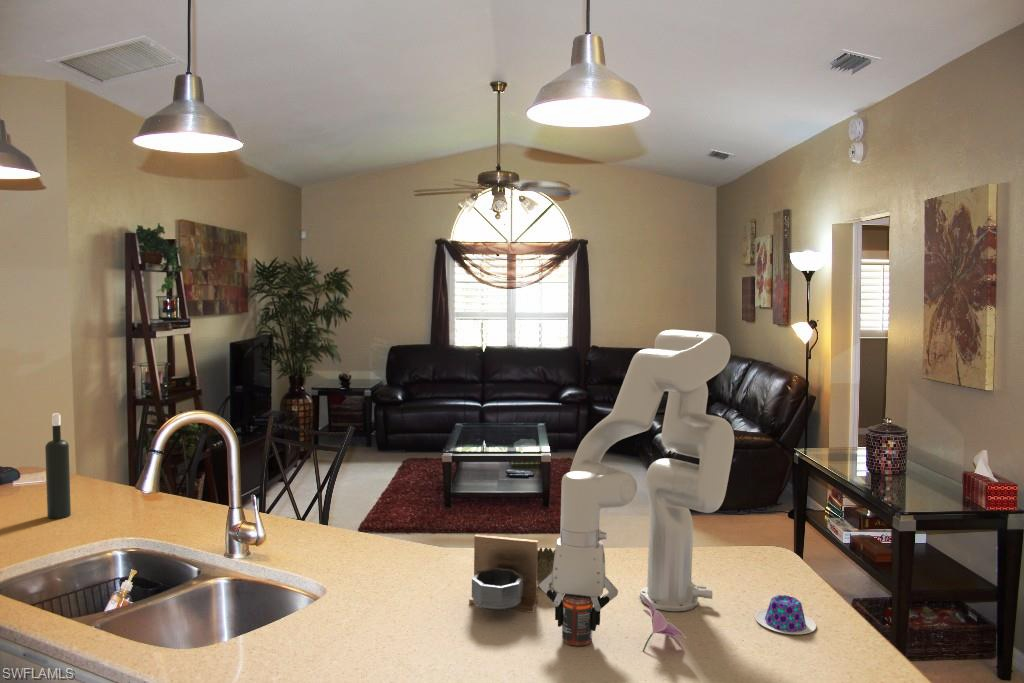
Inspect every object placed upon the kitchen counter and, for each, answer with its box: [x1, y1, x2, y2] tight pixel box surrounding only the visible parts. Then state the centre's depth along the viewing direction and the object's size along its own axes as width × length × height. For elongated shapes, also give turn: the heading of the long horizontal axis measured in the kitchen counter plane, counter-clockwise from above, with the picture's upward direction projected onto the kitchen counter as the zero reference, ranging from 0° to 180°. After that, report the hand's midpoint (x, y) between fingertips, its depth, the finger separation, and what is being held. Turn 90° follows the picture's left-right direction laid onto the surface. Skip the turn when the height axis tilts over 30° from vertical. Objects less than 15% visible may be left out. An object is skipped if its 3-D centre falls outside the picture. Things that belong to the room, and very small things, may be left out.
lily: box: [639, 592, 688, 652], centre depth 145 cm, size 12×12×10 cm
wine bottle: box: [44, 412, 72, 520], centre depth 217 cm, size 6×6×30 cm
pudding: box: [754, 594, 817, 635], centre depth 157 cm, size 12×12×5 cm
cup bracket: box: [468, 534, 539, 613], centre depth 160 cm, size 14×14×14 cm
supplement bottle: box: [561, 594, 594, 647], centre depth 147 cm, size 6×6×11 cm
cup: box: [537, 547, 561, 588], centre depth 173 cm, size 8×7×8 cm
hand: (577, 624), depth 148 cm, fingers closed on supplement bottle, 6 cm apart
